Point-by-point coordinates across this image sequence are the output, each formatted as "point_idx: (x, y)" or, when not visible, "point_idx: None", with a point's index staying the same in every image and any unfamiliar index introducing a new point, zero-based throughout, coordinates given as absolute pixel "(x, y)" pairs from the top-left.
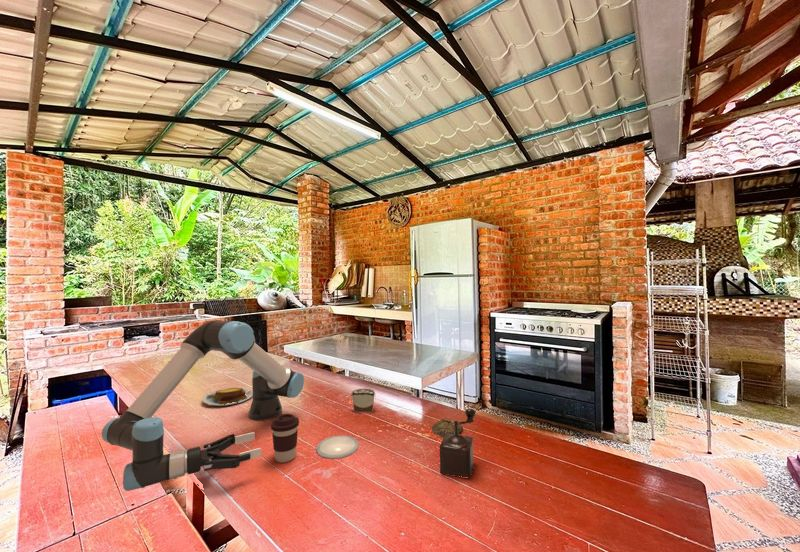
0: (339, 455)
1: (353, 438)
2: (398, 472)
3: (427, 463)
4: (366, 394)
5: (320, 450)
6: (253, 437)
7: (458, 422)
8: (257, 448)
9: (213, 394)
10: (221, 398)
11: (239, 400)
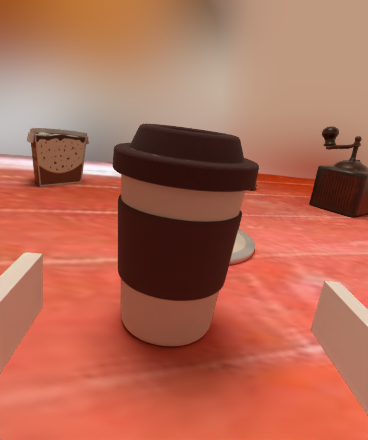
0: (251, 245)
1: None
2: (341, 232)
3: (319, 214)
4: (69, 138)
5: None
6: (38, 294)
7: (334, 145)
8: (337, 291)
9: None
10: None
11: None
